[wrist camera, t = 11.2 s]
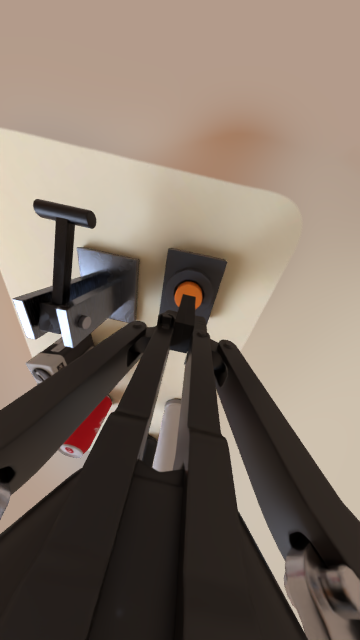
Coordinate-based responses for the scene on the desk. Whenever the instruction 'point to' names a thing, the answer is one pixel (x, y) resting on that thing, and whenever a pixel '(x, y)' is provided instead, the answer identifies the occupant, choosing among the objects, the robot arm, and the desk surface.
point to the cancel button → (189, 292)
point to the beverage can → (86, 431)
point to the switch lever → (61, 255)
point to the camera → (56, 358)
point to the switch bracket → (87, 297)
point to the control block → (192, 279)
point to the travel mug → (168, 437)
